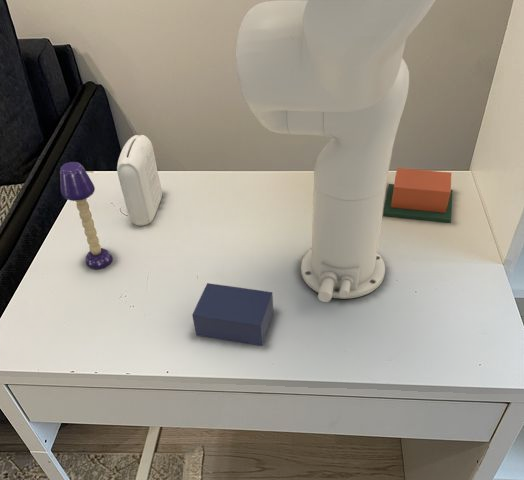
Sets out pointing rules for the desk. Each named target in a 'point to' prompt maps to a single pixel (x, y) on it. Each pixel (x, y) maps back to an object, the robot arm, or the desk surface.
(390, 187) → the mat
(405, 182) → the orange rectangular brick
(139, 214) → the photo printer
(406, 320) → the desk surface
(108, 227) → the desk surface
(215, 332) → the navy blue rectangular block
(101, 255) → the toy lamp
